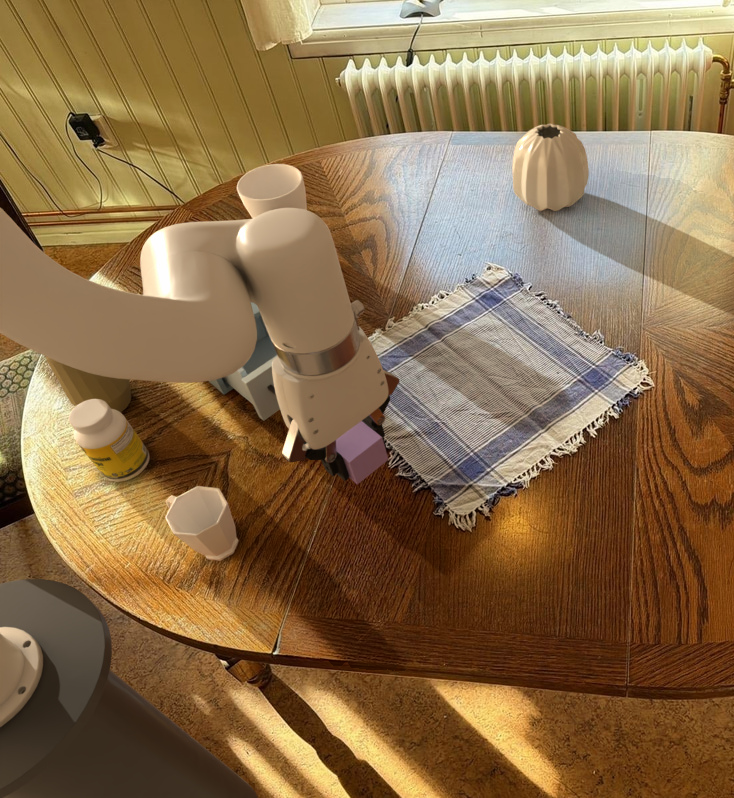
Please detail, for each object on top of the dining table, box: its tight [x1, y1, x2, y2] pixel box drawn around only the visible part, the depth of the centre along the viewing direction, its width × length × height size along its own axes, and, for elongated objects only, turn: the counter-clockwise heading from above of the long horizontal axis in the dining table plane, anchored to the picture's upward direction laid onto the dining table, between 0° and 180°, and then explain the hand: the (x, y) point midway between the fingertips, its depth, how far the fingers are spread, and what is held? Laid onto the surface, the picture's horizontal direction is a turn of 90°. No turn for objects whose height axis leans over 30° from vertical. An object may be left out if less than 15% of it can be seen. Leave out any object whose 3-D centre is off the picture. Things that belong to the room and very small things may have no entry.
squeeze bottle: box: [44, 356, 132, 413], centre depth 101 cm, size 8×8×18 cm
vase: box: [511, 123, 590, 212], centre depth 133 cm, size 14×14×13 cm
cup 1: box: [164, 485, 240, 561], centre depth 90 cm, size 7×10×8 cm
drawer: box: [222, 316, 281, 422], centre depth 105 cm, size 18×11×8 cm, turn 49°
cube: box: [336, 421, 389, 485], centre depth 80 cm, size 4×5×4 cm
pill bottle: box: [68, 399, 150, 483], centre depth 96 cm, size 6×6×11 cm
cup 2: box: [236, 163, 308, 219], centre depth 125 cm, size 10×10×14 cm
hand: (357, 457), depth 81 cm, fingers closed on cube, 4 cm apart
